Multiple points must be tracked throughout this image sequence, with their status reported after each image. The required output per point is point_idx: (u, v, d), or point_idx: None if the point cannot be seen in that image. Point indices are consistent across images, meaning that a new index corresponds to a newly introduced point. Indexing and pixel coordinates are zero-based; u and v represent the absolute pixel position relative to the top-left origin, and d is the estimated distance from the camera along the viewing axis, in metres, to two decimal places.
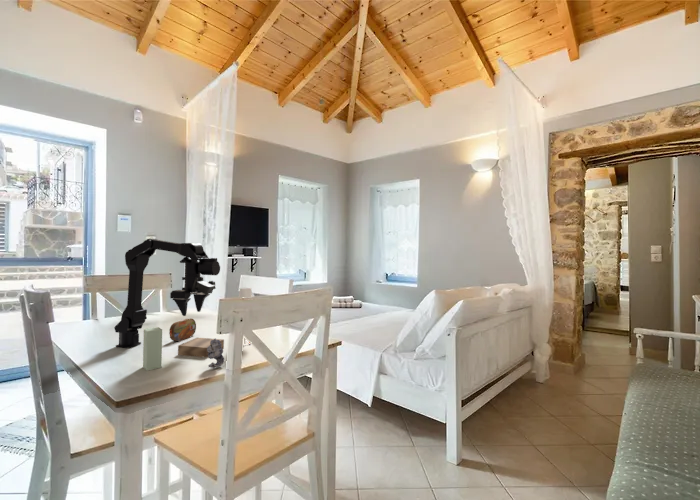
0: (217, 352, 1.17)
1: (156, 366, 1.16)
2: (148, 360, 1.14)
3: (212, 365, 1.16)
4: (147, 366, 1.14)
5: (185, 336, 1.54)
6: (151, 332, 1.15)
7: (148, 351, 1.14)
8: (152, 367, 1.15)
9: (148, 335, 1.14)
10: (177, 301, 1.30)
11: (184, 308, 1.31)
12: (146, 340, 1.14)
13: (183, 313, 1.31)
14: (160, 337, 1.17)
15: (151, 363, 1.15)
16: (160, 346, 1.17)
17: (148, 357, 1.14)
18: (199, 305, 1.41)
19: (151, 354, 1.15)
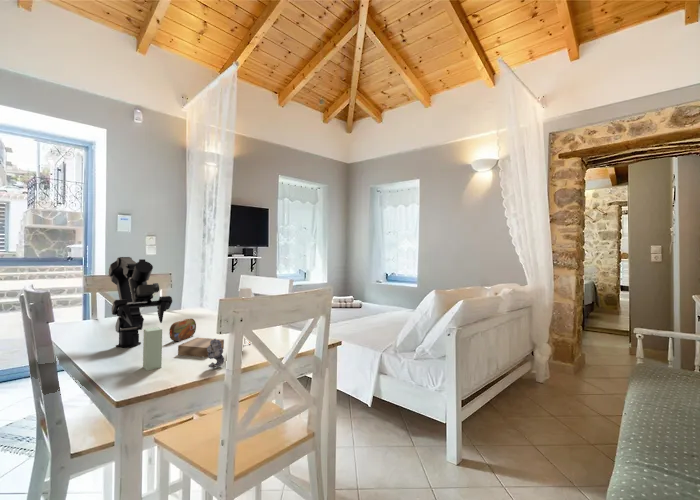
0: (217, 352, 1.17)
1: (156, 366, 1.16)
2: (148, 360, 1.14)
3: (212, 365, 1.16)
4: (147, 366, 1.14)
5: (185, 336, 1.54)
6: (151, 332, 1.15)
7: (148, 351, 1.14)
8: (152, 367, 1.15)
9: (148, 335, 1.14)
10: (122, 315, 1.22)
11: (128, 317, 1.20)
12: (146, 340, 1.14)
13: (130, 323, 1.20)
14: (160, 337, 1.17)
15: (151, 363, 1.15)
16: (160, 346, 1.17)
17: (148, 357, 1.14)
18: (160, 316, 1.27)
19: (151, 354, 1.15)
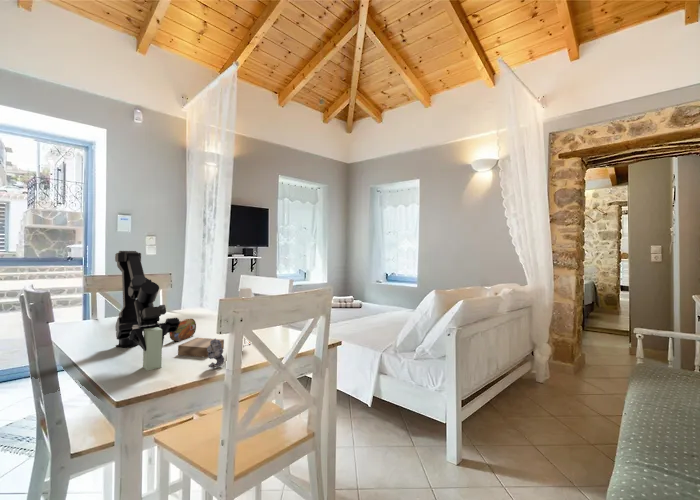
0: (217, 352, 1.17)
1: (156, 366, 1.16)
2: (148, 360, 1.14)
3: (212, 365, 1.16)
4: (147, 366, 1.14)
5: (185, 336, 1.54)
6: (151, 332, 1.14)
7: (148, 351, 1.14)
8: (152, 367, 1.15)
9: (148, 335, 1.14)
10: (135, 339, 1.17)
11: (141, 341, 1.15)
12: (146, 340, 1.14)
13: (143, 347, 1.14)
14: (160, 337, 1.16)
15: (151, 363, 1.15)
16: (160, 346, 1.17)
17: (148, 357, 1.14)
18: None
19: (151, 354, 1.15)
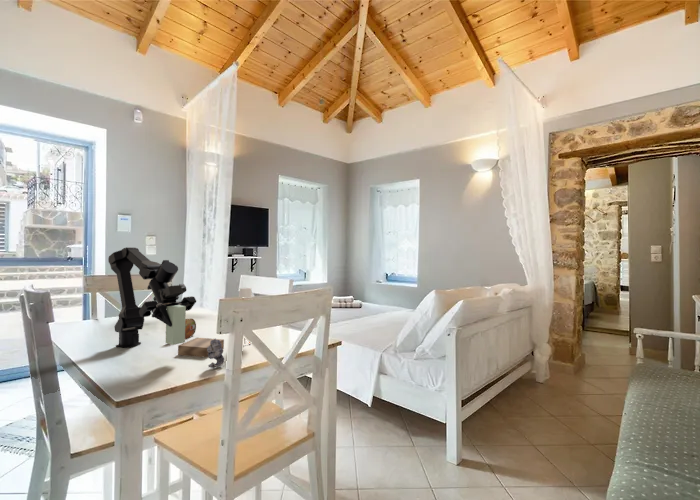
0: (217, 352, 1.17)
1: (180, 341, 1.23)
2: (174, 335, 1.20)
3: (212, 365, 1.16)
4: (173, 341, 1.20)
5: (185, 336, 1.54)
6: (177, 309, 1.21)
7: (174, 326, 1.20)
8: (177, 342, 1.22)
9: (174, 311, 1.20)
10: (158, 316, 1.22)
11: (166, 318, 1.20)
12: (171, 316, 1.20)
13: (168, 323, 1.20)
14: (184, 313, 1.23)
15: (176, 338, 1.21)
16: (184, 322, 1.23)
17: (174, 332, 1.20)
18: None
19: (176, 329, 1.21)
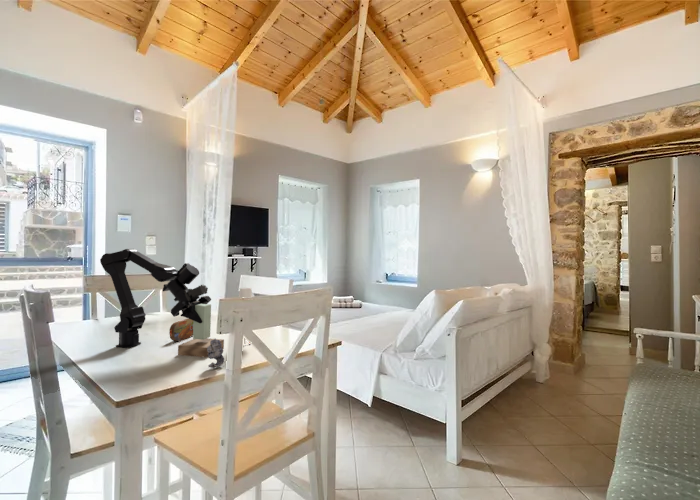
0: (217, 352, 1.17)
1: (208, 335, 1.36)
2: (204, 331, 1.34)
3: (212, 365, 1.16)
4: (204, 336, 1.33)
5: (185, 336, 1.54)
6: (206, 307, 1.34)
7: (204, 323, 1.34)
8: (206, 336, 1.35)
9: (205, 309, 1.33)
10: (186, 315, 1.32)
11: (197, 316, 1.32)
12: (202, 314, 1.33)
13: (199, 320, 1.33)
14: (210, 311, 1.37)
15: (205, 333, 1.34)
16: (210, 318, 1.37)
17: (204, 328, 1.34)
18: None
19: (206, 325, 1.34)
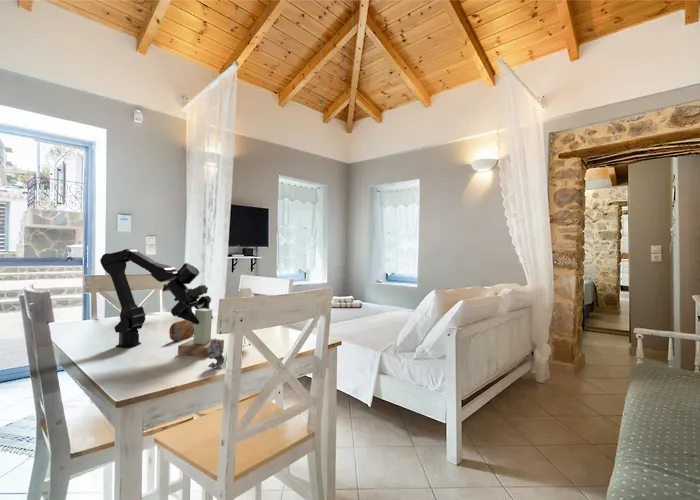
0: (217, 352, 1.17)
1: (208, 340, 1.36)
2: (205, 335, 1.34)
3: (212, 365, 1.16)
4: (204, 340, 1.33)
5: (185, 336, 1.54)
6: (207, 311, 1.34)
7: (205, 328, 1.34)
8: (206, 341, 1.35)
9: (206, 314, 1.33)
10: (183, 316, 1.30)
11: (193, 317, 1.30)
12: (203, 319, 1.33)
13: (196, 321, 1.31)
14: (211, 316, 1.37)
15: (206, 338, 1.34)
16: (210, 323, 1.37)
17: (205, 333, 1.34)
18: None
19: (206, 330, 1.34)
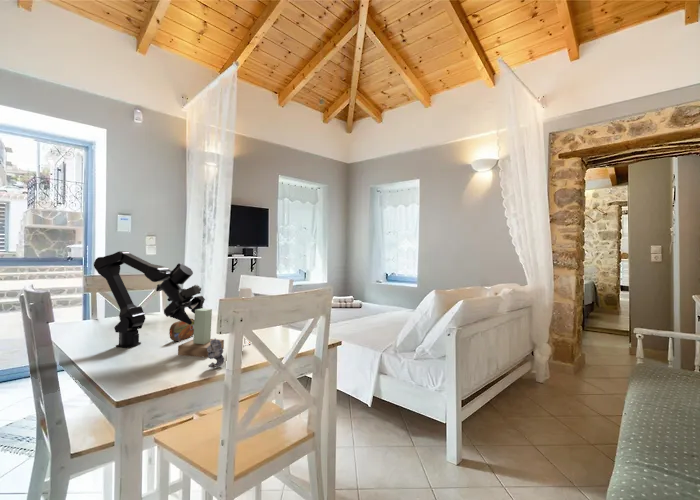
0: (217, 352, 1.17)
1: (208, 340, 1.36)
2: (204, 335, 1.34)
3: (212, 365, 1.16)
4: (204, 340, 1.33)
5: (185, 336, 1.54)
6: (207, 311, 1.35)
7: (205, 327, 1.34)
8: (206, 341, 1.35)
9: (205, 314, 1.34)
10: (175, 316, 1.30)
11: (186, 317, 1.31)
12: (202, 318, 1.33)
13: (188, 321, 1.31)
14: (210, 315, 1.37)
15: (206, 338, 1.35)
16: (210, 323, 1.37)
17: (205, 333, 1.34)
18: None
19: (206, 330, 1.35)
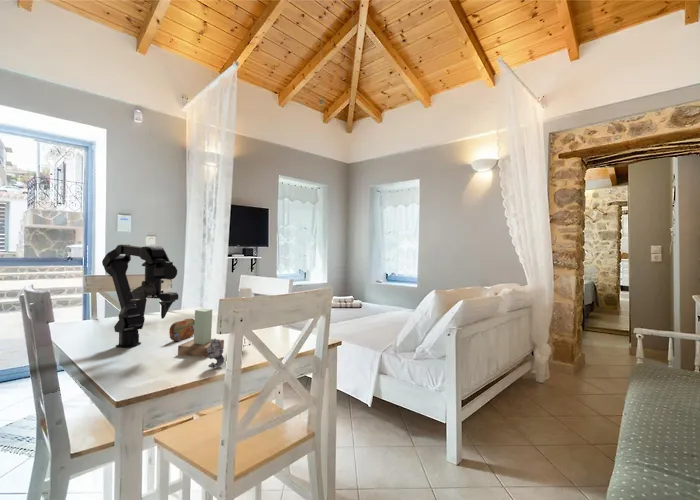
0: (217, 352, 1.17)
1: (208, 340, 1.36)
2: (204, 336, 1.33)
3: (212, 365, 1.16)
4: (204, 341, 1.33)
5: (185, 336, 1.54)
6: (207, 312, 1.34)
7: (205, 328, 1.33)
8: (206, 341, 1.35)
9: (205, 314, 1.33)
10: None
11: None
12: (202, 319, 1.33)
13: None
14: (211, 316, 1.36)
15: (206, 338, 1.34)
16: (211, 323, 1.37)
17: (204, 333, 1.33)
18: None
19: (206, 330, 1.34)
